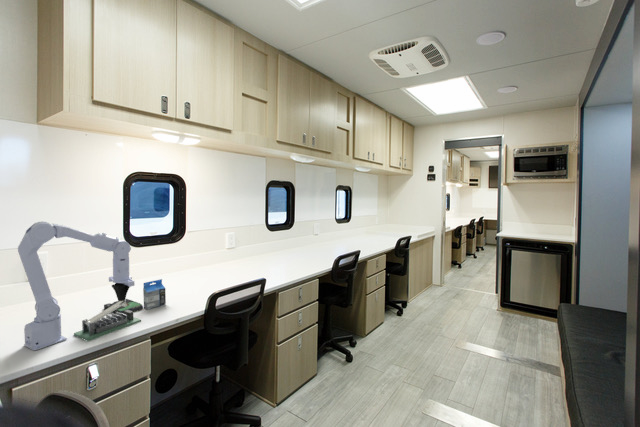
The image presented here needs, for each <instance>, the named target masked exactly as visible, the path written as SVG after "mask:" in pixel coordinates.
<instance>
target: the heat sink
mask: <svg viewBox="0 0 640 427" xmlns="http://www.w3.org/2000/svg"><path fill="white" fill-rule="evenodd" d="M110 314H111V315H109V314H108V315H106V316H105V317H103V318H101V319H100V320H98V321H96V322H95V323H94V322H91V323H89V325H86V324H84V322H85V321H88V320H89V319H86V318H85V319H83V320H81V321H82V322H81V325H82V326H81V327H82V330H81V331H83V333H85V332H88V331H89V335H90V336H91V335H94V334H99V333H102V332H104V331H107V330H110V329H113V328H115V327H118V326H121V325H123V324H126V323H127V315H125V314H122V313H119V312H116V314H114V313H112V312H111V313H110Z"/></svg>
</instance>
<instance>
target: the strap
mask: <svg viewBox="0 0 640 427" xmlns="http://www.w3.org/2000/svg"><path fill="white" fill-rule="evenodd" d="M121 306H124V307H126V306H127V304H126V301H119V302H117V303H116V304H114V305H112V306H111V307H109V308H108V309H106V310H105V309H103V311H101V312H99V313H98V314H96V315H94V316H93V317H91V318H89V319H87V320H88V321H85V322H84V324H86V325H89V323H91V322H94V323H95V322H96V321H98V320H101V318H103V317H105V318H106V315H109V314H112V312H113V311H114V310H116V309H117V308H119V307H121Z"/></svg>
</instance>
